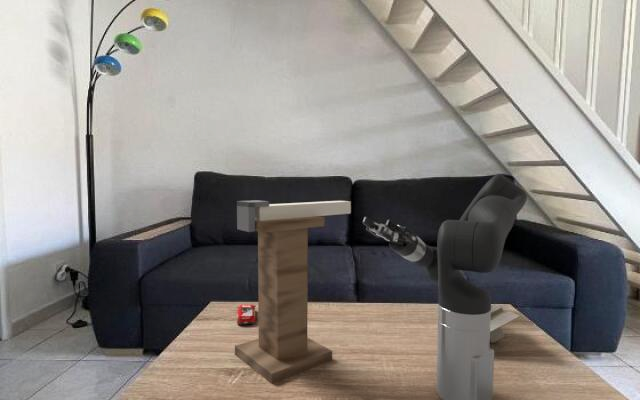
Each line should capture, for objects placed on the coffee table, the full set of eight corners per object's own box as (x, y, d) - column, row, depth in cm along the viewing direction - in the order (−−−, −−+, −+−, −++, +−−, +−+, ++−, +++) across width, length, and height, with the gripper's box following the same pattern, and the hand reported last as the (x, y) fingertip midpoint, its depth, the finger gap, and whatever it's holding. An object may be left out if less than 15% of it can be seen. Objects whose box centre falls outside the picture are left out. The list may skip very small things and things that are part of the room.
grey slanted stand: (488, 376, 88) (537, 333, 88) (462, 346, 89) (510, 303, 89) (465, 354, 104) (507, 318, 105) (443, 329, 105) (484, 293, 106)
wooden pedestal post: (332, 359, 87) (333, 218, 85) (271, 383, 77) (271, 224, 75) (291, 336, 100) (291, 212, 98) (234, 354, 90) (233, 217, 88)
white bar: (351, 221, 97) (352, 197, 96) (248, 231, 78) (248, 202, 78) (338, 219, 101) (338, 196, 100) (237, 229, 82) (236, 201, 82)
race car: (237, 311, 119) (237, 298, 119) (255, 310, 120) (255, 297, 120) (235, 327, 106) (235, 313, 106) (255, 326, 107) (255, 312, 107)
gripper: (393, 230, 121) (361, 207, 112) (432, 236, 110) (400, 210, 101) (385, 252, 120) (352, 230, 110) (423, 260, 108) (390, 237, 99)
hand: (375, 221), depth 106 cm, fingers open, 8 cm apart
